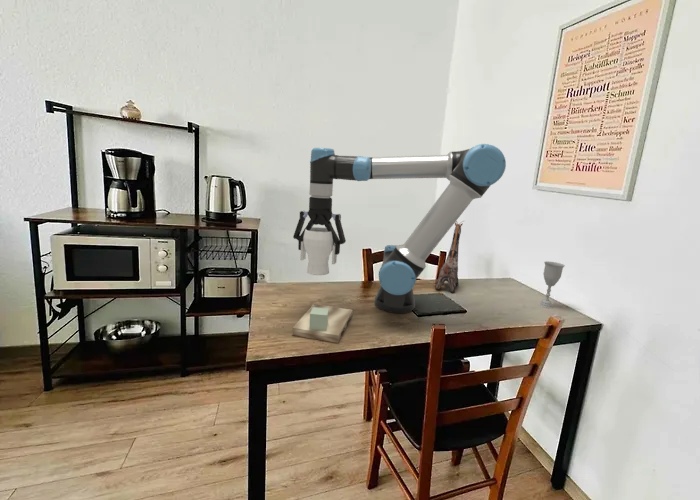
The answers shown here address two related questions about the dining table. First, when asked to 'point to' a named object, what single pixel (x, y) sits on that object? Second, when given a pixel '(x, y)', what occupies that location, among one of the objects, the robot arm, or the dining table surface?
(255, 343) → the dining table surface
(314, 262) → the cup
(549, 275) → the chalice
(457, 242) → the toy
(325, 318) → the pale green cube
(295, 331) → the dock
